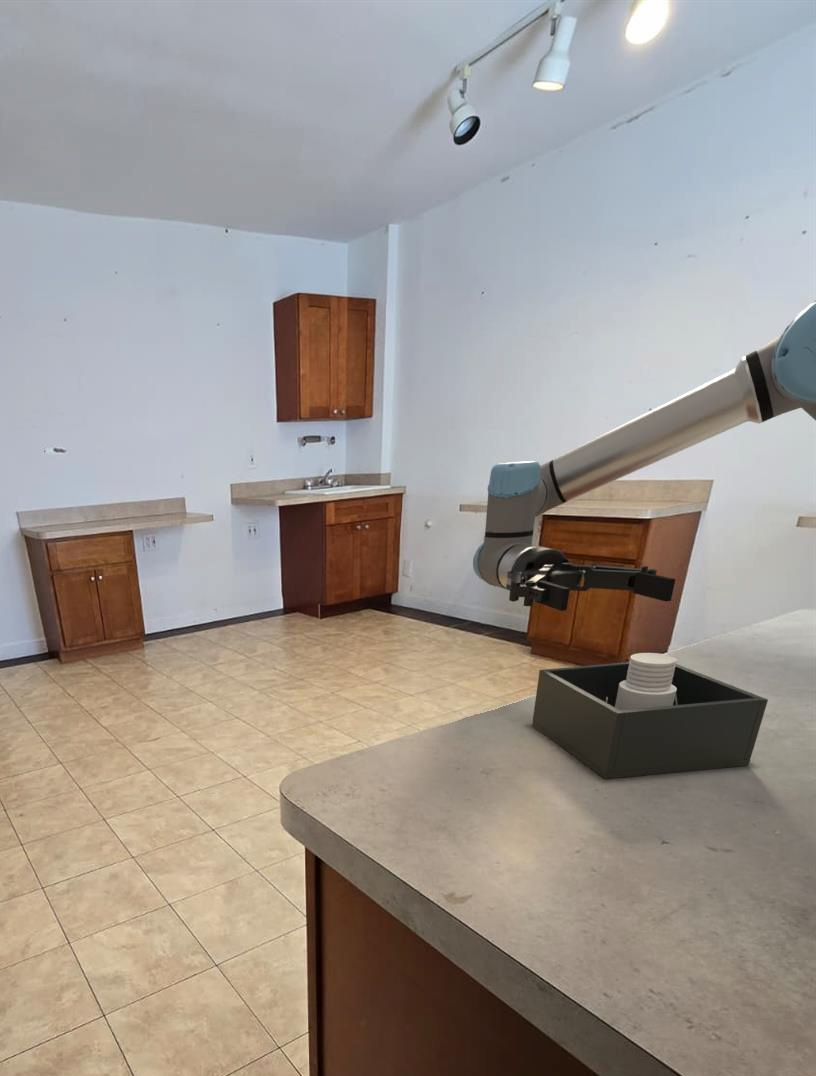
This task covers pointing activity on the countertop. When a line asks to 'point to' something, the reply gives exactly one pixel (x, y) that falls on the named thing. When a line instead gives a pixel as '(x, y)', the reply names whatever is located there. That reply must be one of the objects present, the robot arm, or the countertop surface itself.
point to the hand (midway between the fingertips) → (618, 595)
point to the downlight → (647, 682)
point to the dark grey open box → (647, 722)
